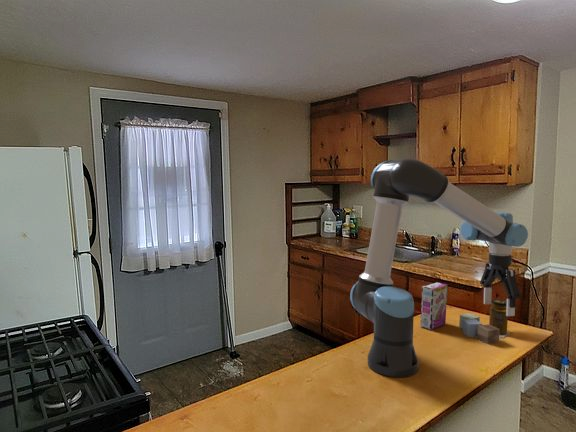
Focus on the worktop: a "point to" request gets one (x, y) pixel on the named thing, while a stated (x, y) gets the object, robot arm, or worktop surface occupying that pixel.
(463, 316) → the sage block
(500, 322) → the condiment
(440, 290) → the candy bar box
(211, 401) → the worktop surface
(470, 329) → the slate block
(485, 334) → the walnut block
